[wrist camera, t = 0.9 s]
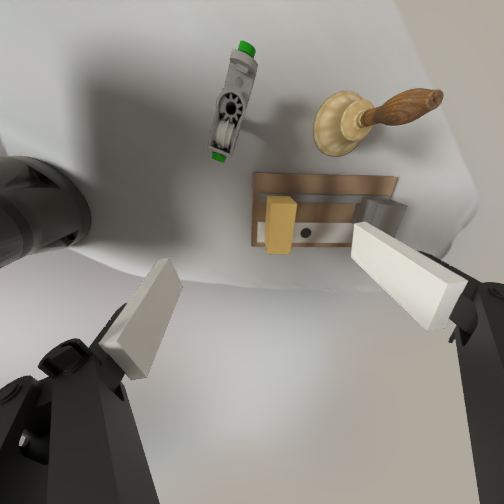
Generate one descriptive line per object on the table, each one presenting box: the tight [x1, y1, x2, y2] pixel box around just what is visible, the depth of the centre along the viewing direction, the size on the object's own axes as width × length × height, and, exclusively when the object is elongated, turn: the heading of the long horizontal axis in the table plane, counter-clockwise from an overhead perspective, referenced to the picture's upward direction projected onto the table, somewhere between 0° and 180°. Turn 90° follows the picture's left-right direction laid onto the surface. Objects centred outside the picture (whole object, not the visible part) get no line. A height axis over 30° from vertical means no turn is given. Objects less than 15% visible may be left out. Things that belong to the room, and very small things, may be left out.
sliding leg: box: [264, 196, 297, 254], centre depth 30 cm, size 4×8×6 cm, turn 178°
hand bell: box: [313, 88, 443, 156], centre depth 22 cm, size 8×8×16 cm
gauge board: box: [251, 173, 407, 247], centre depth 32 cm, size 24×13×8 cm, turn 88°
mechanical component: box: [207, 41, 258, 162], centre depth 23 cm, size 3×10×10 cm, turn 160°
